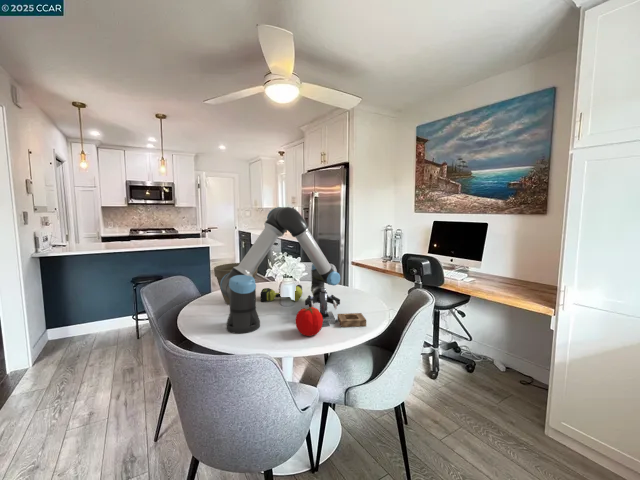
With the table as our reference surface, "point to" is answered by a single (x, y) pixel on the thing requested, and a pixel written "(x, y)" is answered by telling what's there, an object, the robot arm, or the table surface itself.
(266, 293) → the cordless drill
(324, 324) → the bar
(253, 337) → the table surface
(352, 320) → the frame
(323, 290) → the metal bottle
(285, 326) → the table surface
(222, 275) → the plant pot
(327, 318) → the socket collar
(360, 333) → the table surface
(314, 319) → the tomato
